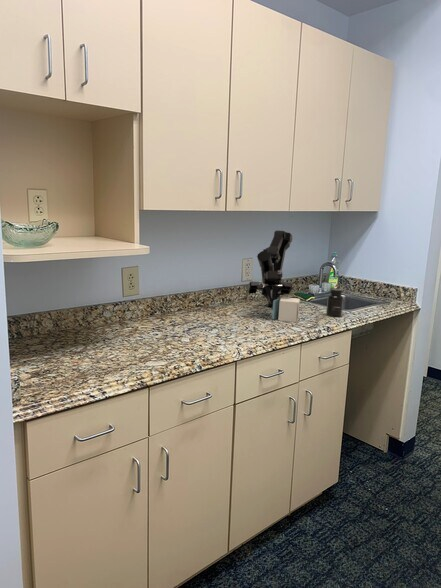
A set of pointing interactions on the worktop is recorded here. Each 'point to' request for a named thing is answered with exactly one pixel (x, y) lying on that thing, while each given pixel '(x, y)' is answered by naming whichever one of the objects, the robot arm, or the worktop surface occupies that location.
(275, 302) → the flap
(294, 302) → the carton
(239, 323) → the worktop surface
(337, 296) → the supplement bottle
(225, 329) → the worktop surface
